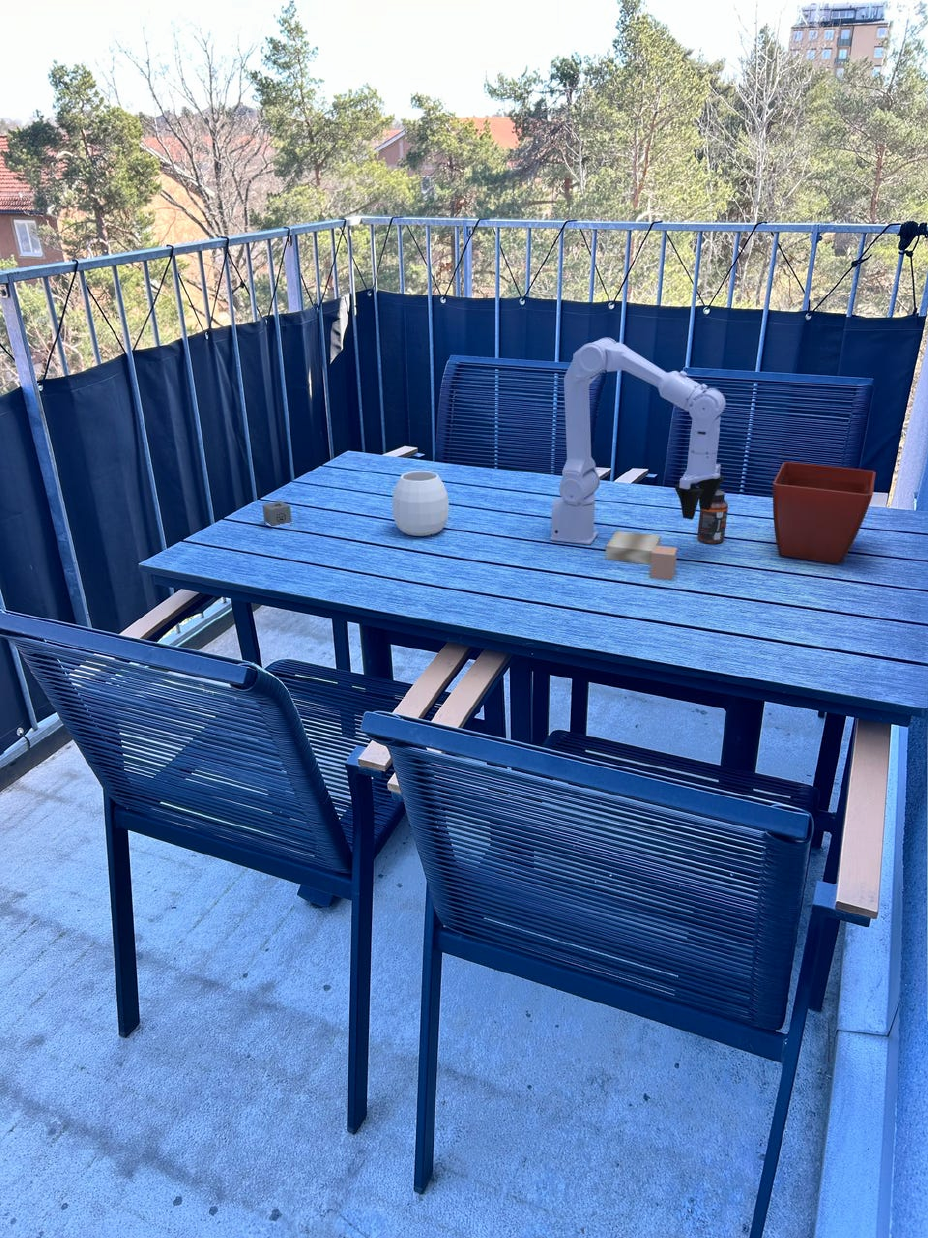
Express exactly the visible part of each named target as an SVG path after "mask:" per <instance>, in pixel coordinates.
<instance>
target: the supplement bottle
mask: <svg viewBox="0 0 928 1238" xmlns="http://www.w3.org/2000/svg"><path fill="white" fill-rule="evenodd" d="M725 496H726V492H725V491H723V490H719V489H718V490H717V492H716V494H715V497H714V500H713V502H712V505H711V508H710V510H704V509H700V508H699V516H698V526H697V540H698V541H700V542H701V543H705V544H710V545H711V544H714V545H715V544H720V543H722V542H723V541H725V537H726V536H725V534H726V527H727V518H728V509H729V505H728V502H727V501H726V500H725V498H726V497H725Z"/></svg>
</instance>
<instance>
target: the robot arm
mask: <svg viewBox="0 0 928 1238" xmlns="http://www.w3.org/2000/svg"><path fill="white" fill-rule="evenodd" d="M572 358H573V359H572V361H571V363H570V365H569V366H568V369H567V371H566V373H565V374H564V379H563V387H564V388H563V390H564V415H565V417H564V419H565V437H566V438H565V439H566V440H565V441H566V442H565V443H566V461H565V464H564V466H563V469H562V471H561V472H562V478H561V482H560V483H559V487H558V492H559V496H560V497H561V498H555V499H554V501H553V504H552V508H551V522H550V523H551V525H550V527H551V528H550V538H549V539H550V540H551V541H556V542H565V543H573V544H582V545H584V544H585V545H592V543H593V541H594V540H595V538H597V536H598V534H599V532H598V531H596V530H594V529H595V528H594V526H595V507H596V497H595V492H596V491H597V490H598V489H599V487H600V483H601V480H600V479H601V478H600V475H599V473H598V472H597V468H596V467H597V466H596V462H595V460H594V458H593V457H592V443H591V441H592V440H591V438H592V437H591V411H590V410H591V409H590V408H591V407H590V384H591V383H593V382H594V381H595V380H596V379H597V378H598V377H599V376H600V374H602V373H603V372H608V373H609V372H619V371H625V372H627V373H629V374H631V375H633V376H635V377H637V378H638V379H641V380H643V381H645V382H646V383H649V384H650V385H653V386H654V387H656V388H657V389H658V392H659V395H660V397H661V398H663V399H664V400H667V401H668V402H670V403H671V404H673V405H675V406H677V407H679V408H680V409H683V410H684V411H685V412H688V413H689V415H690V417H691V418H692V422H691V428H690V437H689V446H688V447H689V448H688V455H687V464H686V465H687V467H686V470H685V472H684V473H683V476H682V477H681V478H679V482H678V483H677V484H675V485H674V486H675V487H674V490H675V492H676V493H677V496H678V499H679V502H680V506H681V514H682V518H683V519H687V520H691V521H692V520H694V518H695V516H696V511H697V507H698V506H699V510H700V509H704V510H710V508H711V505H712V502H713V500H714V497H715V494H716V492H717V490H719V488H720V487H721V485H722V483H723V482H724V479H725V478H724V476H722V475H721V467H722V465H721V464H719V463H717V457H718V450H719V440H720V433H721V429H720V426H721V419H722V417H721V416H720V415H721V414H722V413H723V412H724V410H725V408H726V399H725V396H724V395H723V393H722V392H721V391H720V390H719V389H717V388H715V387H712V388H711V387H710V388H708V385H706V384H705V383H702V384H700V383H698V382H696V381H695V380H693V379H692V378H690V377H687V376H688V373H687V372H686V371H684V370H681V371H680V372H679V371H677V370H672V371H669V372H666V371H665V370H664V369H662V368H660V367H658V366H657V365H656V364H654V363H652V362H650V361H649V360H647V359H646V358H644V357H643V356H642V355H640V354H638V353H637V352H635V351H633V350H632V349H630V348H629V347H628V346H627V345H626V344H623V343H621V342H617V341H615V339H613V338H611V337H603V338H600V339H598V340H596V341H593V342H589V343H586V344H584V345H583V346H581V347H580V348H579V349H578V350H576V351H575V352H574V353H573V357H572ZM696 484H697V486H698V487H697V486H696ZM698 504H699V505H698Z"/></svg>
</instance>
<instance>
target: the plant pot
mask: <svg viewBox="0 0 928 1238" xmlns="http://www.w3.org/2000/svg"><path fill="white" fill-rule="evenodd" d="M876 473H877V472H875V471H874V470H866V469H858V468H851V467H849V468H848V467H838V466H829V465H823V464H822V465H821V464H812V463H802V462H801V463H800V462H791V461H785V462H782V465H781V466H780V469H779V472H778V473H777V475H776V476H775V479H774V481H773V482H772V511H773V513H772V514H773V524H774V527H773V528H774V535H775V540H776V546H777V551H778V555H780V556H783V557H789V558H795V559H800V560H801V559H802V560H809V561H814V562H815V561H816V562H821V563H829V564H835V565H840V564H842V563H843V561H844V560H845V558H846V556H847V555H848V553H849V550H850V549H851V547H852V545H853V543H854V541H855V539H856V538H857V536H858V533H859V531H860V529H861V527H862V525H863V523H864V519H865V518H866V515H867V512H868V509H869V506H870V504H871V501H872V498H873V493H874V487H875V478H876Z"/></svg>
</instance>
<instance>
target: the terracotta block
mask: <svg viewBox="0 0 928 1238" xmlns="http://www.w3.org/2000/svg"><path fill="white" fill-rule="evenodd" d="M677 554H678V547H673V546H665V545H664V546H663V545H660V546H656V545H655V547H654V549H653V551H652V554H651V564H650V568H649V569H650V570H649V578H650V579H659V580H666V581H672V580H673V579H674V575H675V574H676V567H677V565H676V564H677V556H678V555H677Z"/></svg>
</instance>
